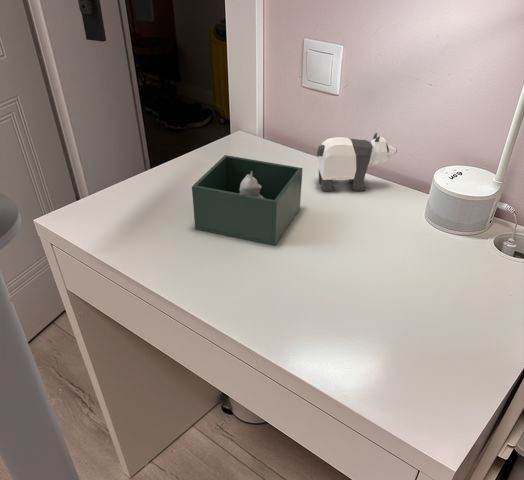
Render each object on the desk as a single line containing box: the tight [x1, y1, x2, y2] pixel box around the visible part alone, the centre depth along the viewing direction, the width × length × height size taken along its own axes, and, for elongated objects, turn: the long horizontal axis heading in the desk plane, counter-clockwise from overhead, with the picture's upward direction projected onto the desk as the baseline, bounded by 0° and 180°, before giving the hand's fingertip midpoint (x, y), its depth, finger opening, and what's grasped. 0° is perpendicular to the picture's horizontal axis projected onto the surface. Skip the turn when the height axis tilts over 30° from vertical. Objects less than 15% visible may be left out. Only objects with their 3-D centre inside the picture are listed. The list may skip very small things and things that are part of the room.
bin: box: [191, 154, 304, 246], centre depth 89 cm, size 14×13×8 cm
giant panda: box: [316, 132, 398, 192], centre depth 99 cm, size 15×6×10 cm, turn 95°
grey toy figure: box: [239, 172, 264, 198], centre depth 89 cm, size 5×7×8 cm
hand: (122, 29), depth 79 cm, fingers open, 13 cm apart
